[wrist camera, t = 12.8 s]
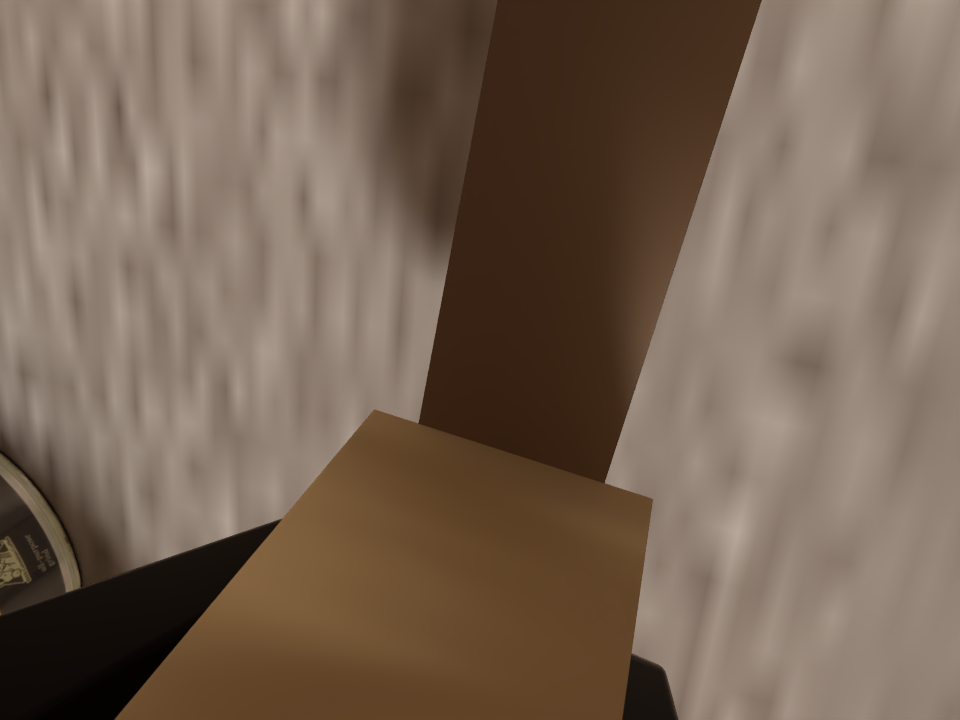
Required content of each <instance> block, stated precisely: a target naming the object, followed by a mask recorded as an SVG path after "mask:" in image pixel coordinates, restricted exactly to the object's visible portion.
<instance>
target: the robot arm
mask: <svg viewBox="0 0 960 720" xmlns="http://www.w3.org/2000/svg"><path fill="white" fill-rule="evenodd" d="M282 519H283V518H282ZM282 519H280V520H277V521H274V522H271V523H268V524H265V525H262V526H259V527H256V528H253V529H250V530H247V531H244V532H242V533H239V534H236V535H233V536H230V537H227V538H224V539H221V540H218V541H215V542H212V543H209V544H206V545H203V546H201V547H198V548H195V549H192V550H189V551H186V552H183V553H180V554H177V555H174V556H171V557H168V558H166V559H163V560H160V561H157V562H154V563H151V564H148V565H145V566H142V567H139V568H136V569H133V570H130V571H128V572H125V573H122V574H119V575H116V576H113V577H110V578H107V579H104V580H101V581H98V582H95V583H92V584H89V585H87V586H84V587H81V588H78V589H75V590H72V591H69V592H66V593H63V594H60V595H57V596H54V597H51V598H49V599H46V600H43V601H40V602H37V603H34V604H31V605H28V606H25V607H22V608H19V609H16V610H13V611H11V612H8V613H5V614H2V615H0V720H115V718H116V717H117V716H118V715H119V714H120V712H121V711H122V710H123V709H124V708H125V706H126V705H127V704H128V703H129V702H130V700H131V699H132V698H133V697H134V696H135V694H136V693H137V692H138V691H139V690H140V689H141V687H142V686H143V685H144V684H145V683H146V681H147V680H148V679H149V678H150V677H151V675H152V674H153V673H154V672H155V671H156V669H157V668H158V667H159V666H160V665H161V663H162V662H163V661H164V660H165V659H166V658H167V656H168V655H169V654H170V653H171V652H172V650H173V649H174V648H175V647H176V646H177V644H178V643H179V642H180V641H181V640H182V638H183V637H184V636H185V635H186V634H187V632H188V631H189V630H190V629H191V628H192V626H193V625H194V624H195V623H196V622H197V621H198V619H199V618H200V617H201V616H202V615H203V613H204V612H205V611H206V610H207V609H208V607H209V606H210V605H211V604H212V603H213V601H214V600H215V599H216V598H217V597H218V595H219V594H220V593H221V592H222V591H223V589H224V588H225V587H226V586H227V585H228V584H229V582H230V581H231V580H232V579H233V578H234V576H235V575H236V574H237V573H238V572H239V570H240V569H241V568H242V567H243V566H244V564H245V563H246V562H247V561H248V560H249V558H250V557H251V556H252V555H253V554H254V552H255V551H256V550H257V549H258V548H259V547H260V545H261V544H262V543H263V542H264V541H265V539H266V538H267V537H268V536H269V535H270V533H271V532H272V531H273V530H274V529H275V527H276V526H277V525H278V524H279V523H280V521H281V520H282ZM622 720H678V716H677V712H676V709H675V705H674V701H673V698H672V694H671V690H670V686H669V683H668V679H667V676H666V673H665V671H664V669H663V668H662V667H661V666H660V665H658V664H655V663H653V662H651V661H648V660H646V659H644V658H641V657H639V656H637V655H635V654H632V653H631V660H630V667H629V674H628V681H627V688H626V696H625V703H624V710H623V717H622Z"/></svg>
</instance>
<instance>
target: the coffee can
mask: <svg viewBox="0 0 960 720" xmlns="http://www.w3.org/2000/svg"><path fill="white" fill-rule="evenodd" d="M78 588H81V583H80V575H79V571H78V566H77V562H76V559H75V556H74V552H73V550H72V547H71V545H70V542H69V540H68V538H67V536H66V533H65V531H64V529H63V527H62V525H61V523H60V521H59V519H58V518H57V516H56V515H55V513H54V512H53V510H52V509H51V507H50V506H49V504H48V503H47V501H46V500H45V498H44V497H43V496H42V494H41V493H40V492H39V491H38V489H37V488H36V487H35V486H34V484H33V483H32V482H31V481H30V480H29V479H28V477H27V476H26V475H25V474H24V473H23V472H22V471H21V470H20V469H19V468H18V467H17V466H16V465H15V464H14V463H12V462H11V461H10V460H9V459H8V458H7V457H6V456H4V455H3V454H2V453H1V452H0V615H2V614H5V613H8V612H11V611H13V610H16V609H19V608H22V607H25V606H28V605H31V604H34V603H37V602H40V601H43V600H46V599H49V598H51V597H54V596H57V595H60V594H63V593H66V592H69V591H72V590H75V589H78Z"/></svg>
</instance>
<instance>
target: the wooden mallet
mask: <svg viewBox="0 0 960 720" xmlns="http://www.w3.org/2000/svg"><path fill="white" fill-rule="evenodd" d="M761 1H762V0H498V4H497V9H496V14H495V20H494V25H493V30H492V36H491V41H490V46H489V52H488V57H487V62H486V68H485V73H484V78H483V83H482V89H481V94H480V99H479V105H478V110H477V115H476V121H475V126H474V131H473V137H472V142H471V147H470V153H469V158H468V163H467V169H466V174H465V179H464V185H463V190H462V195H461V201H460V206H459V211H458V217H457V222H456V227H455V233H454V238H453V243H452V249H451V254H450V259H449V265H448V270H447V275H446V281H445V286H444V291H443V297H442V302H441V307H440V313H439V318H438V323H437V329H436V334H435V339H434V344H433V350H432V355H431V360H430V366H429V371H428V376H427V382H426V387H425V392H424V398H423V403H422V408H421V414H420V419H419V424H418V423H415V422H412V421H409V420H406V419H402V418H399V417H396V416H393V415H390V414H387V413H384V412H381V411H378V410H373V412H372V413H371V414H370V415H369V416H368V418H367V419H366V420H365V421H364V422H363V424H362V425H361V426H360V427H359V428H358V430H357V431H356V432H355V433H354V434H353V436H352V437H351V438H350V439H349V440H348V441H347V443H346V444H345V445H344V446H343V447H342V449H341V450H340V451H339V452H338V453H337V455H336V456H335V457H334V458H333V459H332V461H331V462H330V463H329V464H328V465H327V467H326V468H325V469H324V470H323V471H322V473H321V474H320V475H319V476H318V477H317V478H316V480H315V481H314V482H313V483H312V484H311V486H310V487H309V488H308V489H307V490H306V492H305V493H304V494H303V495H302V496H301V498H300V499H299V500H298V501H297V502H296V504H295V505H294V506H293V507H292V508H291V510H290V511H289V512H288V513H287V514H286V515H285V517H284V518H283V519H282V520H281V521H280V523H279V524H278V525H277V526H276V527H275V529H274V530H273V531H272V532H271V533H270V535H269V536H268V537H267V538H266V539H265V541H264V542H263V543H262V544H261V545H260V547H259V548H258V549H257V550H256V551H255V552H254V554H253V555H252V556H251V557H250V558H249V560H248V561H247V562H246V563H245V564H244V566H243V567H242V568H241V569H240V570H239V572H238V573H237V574H236V575H235V576H234V578H233V579H232V580H231V581H230V582H229V584H228V585H227V586H226V587H225V588H224V589H223V591H222V592H221V593H220V594H219V595H218V597H217V598H216V599H215V600H214V601H213V603H212V604H211V605H210V606H209V607H208V609H207V610H206V611H205V612H204V613H203V615H202V616H201V617H200V618H199V619H198V621H197V622H196V623H195V624H194V625H193V626H192V628H191V629H190V630H189V631H188V632H187V634H186V635H185V636H184V637H183V638H182V640H181V641H180V642H179V643H178V644H177V646H176V647H175V648H174V649H173V650H172V652H171V653H170V654H169V655H168V656H167V658H166V659H165V660H164V661H163V662H162V663H161V665H160V666H159V667H158V668H157V669H156V671H155V672H154V673H153V674H152V675H151V677H150V678H149V679H148V680H147V681H146V683H145V684H144V685H143V686H142V687H141V689H140V690H139V691H138V692H137V693H136V694H135V696H134V697H133V698H132V699H131V700H130V702H129V703H128V704H127V705H126V706H125V708H124V709H123V710H122V711H121V712H120V714H119V715H118V716H117V717H116V718H115V720H622V717H623V710H624V703H625V696H626V688H627V681H628V674H629V667H630V660H631V652H632V645H633V638H634V631H635V624H636V617H637V609H638V602H639V595H640V588H641V581H642V574H643V566H644V559H645V552H646V545H647V538H648V531H649V523H650V516H651V509H652V502H653V499H651V498H648V497H645V496H642V495H639V494H636V493H633V492H629V491H626V490H623V489H620V488H617V487H614V486H611V485H608V484H605V480H606V477H607V473H608V470H609V467H610V464H611V461H612V458H613V455H614V452H615V449H616V446H617V443H618V440H619V437H620V434H621V430H622V427H623V424H624V421H625V418H626V415H627V412H628V409H629V406H630V403H631V400H632V397H633V394H634V391H635V388H636V384H637V381H638V378H639V375H640V372H641V369H642V366H643V363H644V360H645V357H646V354H647V351H648V348H649V345H650V341H651V338H652V335H653V332H654V329H655V326H656V323H657V320H658V317H659V314H660V311H661V308H662V305H663V302H664V299H665V295H666V292H667V289H668V286H669V283H670V280H671V277H672V274H673V271H674V268H675V265H676V262H677V259H678V256H679V253H680V249H681V246H682V243H683V240H684V237H685V234H686V231H687V228H688V225H689V222H690V219H691V216H692V213H693V210H694V206H695V203H696V200H697V197H698V194H699V191H700V188H701V185H702V182H703V179H704V176H705V173H706V170H707V167H708V164H709V160H710V157H711V154H712V151H713V148H714V145H715V142H716V139H717V136H718V133H719V130H720V127H721V124H722V121H723V117H724V114H725V111H726V108H727V105H728V102H729V99H730V96H731V93H732V90H733V87H734V84H735V81H736V78H737V75H738V71H739V68H740V65H741V62H742V59H743V56H744V53H745V50H746V47H747V44H748V41H749V38H750V35H751V32H752V28H753V25H754V22H755V19H756V16H757V13H758V10H759V7H760V4H761Z"/></svg>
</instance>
